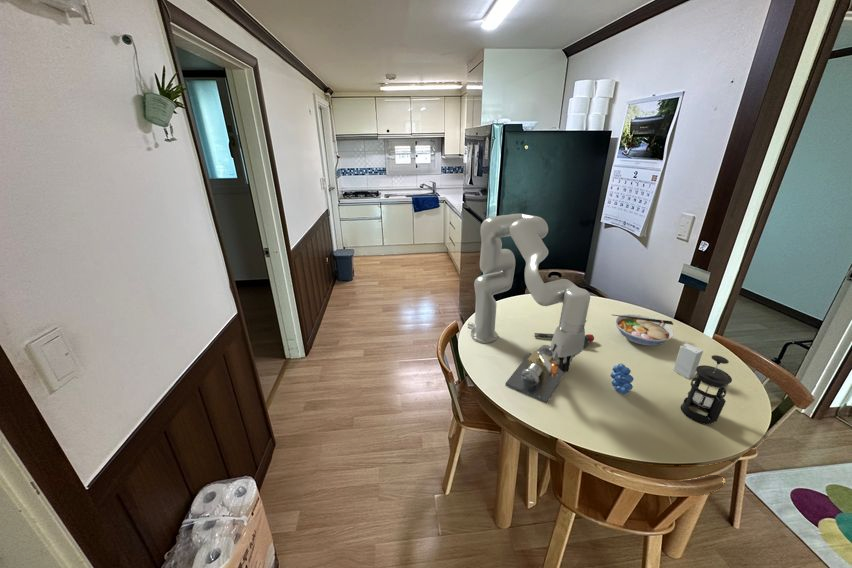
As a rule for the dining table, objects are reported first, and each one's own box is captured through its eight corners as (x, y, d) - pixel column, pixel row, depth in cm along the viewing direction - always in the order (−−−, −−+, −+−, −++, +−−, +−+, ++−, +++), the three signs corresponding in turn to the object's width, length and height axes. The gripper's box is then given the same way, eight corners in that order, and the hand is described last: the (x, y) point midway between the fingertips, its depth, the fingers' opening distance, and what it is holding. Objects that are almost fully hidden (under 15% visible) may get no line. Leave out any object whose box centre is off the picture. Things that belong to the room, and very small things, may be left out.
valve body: (505, 385, 127) (507, 364, 123) (528, 354, 145) (531, 335, 141) (546, 403, 118) (550, 381, 114) (566, 368, 136) (570, 348, 132)
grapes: (638, 403, 118) (647, 376, 113) (619, 403, 118) (626, 376, 113) (622, 381, 128) (629, 355, 124) (604, 381, 129) (610, 355, 124)
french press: (673, 401, 118) (693, 347, 109) (700, 402, 118) (723, 348, 108) (695, 428, 108) (719, 371, 98) (725, 429, 107) (753, 372, 98)
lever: (535, 353, 129) (536, 342, 127) (542, 353, 129) (544, 342, 127) (550, 378, 115) (552, 366, 113) (558, 378, 115) (560, 366, 113)
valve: (588, 336, 161) (596, 349, 147) (532, 332, 167) (535, 345, 153) (589, 323, 160) (597, 336, 146) (533, 320, 166) (535, 332, 152)
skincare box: (694, 376, 130) (704, 350, 125) (688, 379, 129) (698, 353, 124) (678, 367, 136) (687, 342, 131) (671, 370, 134) (680, 345, 129)
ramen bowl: (611, 347, 149) (615, 332, 145) (607, 323, 168) (610, 309, 165) (678, 360, 140) (684, 343, 137) (665, 332, 159) (670, 317, 156)
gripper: (582, 315, 114) (573, 359, 121) (545, 323, 109) (538, 367, 117) (598, 326, 107) (588, 371, 115) (560, 334, 103) (552, 381, 110)
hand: (563, 369), depth 116 cm, fingers closed
